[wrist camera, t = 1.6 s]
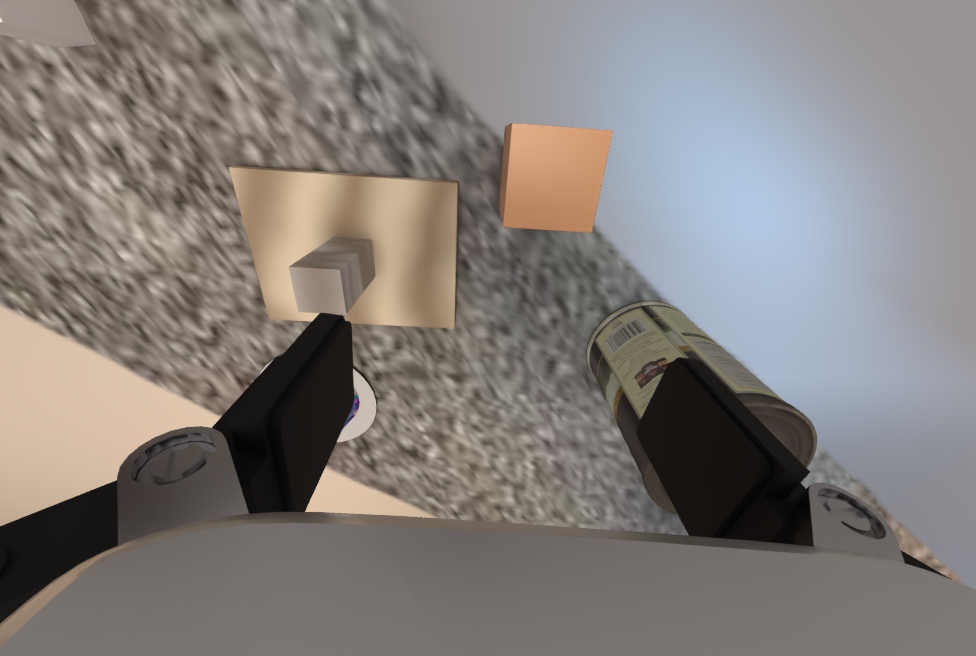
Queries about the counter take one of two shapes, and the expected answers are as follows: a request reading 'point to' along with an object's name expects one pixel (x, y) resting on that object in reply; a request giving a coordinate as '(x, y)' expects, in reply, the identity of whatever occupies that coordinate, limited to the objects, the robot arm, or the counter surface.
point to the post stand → (352, 245)
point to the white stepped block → (44, 22)
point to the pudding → (364, 413)
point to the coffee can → (642, 361)
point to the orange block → (552, 176)
